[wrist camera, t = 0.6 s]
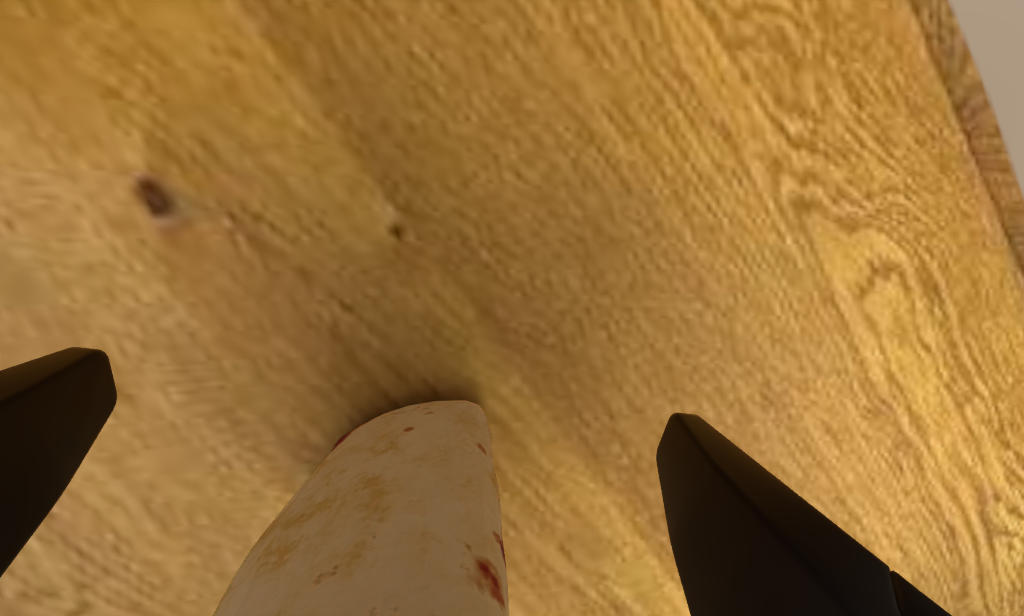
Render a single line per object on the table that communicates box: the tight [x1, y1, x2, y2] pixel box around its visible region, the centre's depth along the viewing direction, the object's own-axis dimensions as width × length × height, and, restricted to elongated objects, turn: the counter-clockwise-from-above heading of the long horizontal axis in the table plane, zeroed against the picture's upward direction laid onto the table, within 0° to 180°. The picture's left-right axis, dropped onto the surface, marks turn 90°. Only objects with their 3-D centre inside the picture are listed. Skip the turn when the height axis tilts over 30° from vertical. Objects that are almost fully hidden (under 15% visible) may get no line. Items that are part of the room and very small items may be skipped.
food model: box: [213, 400, 509, 616], centre depth 16 cm, size 10×7×20 cm
